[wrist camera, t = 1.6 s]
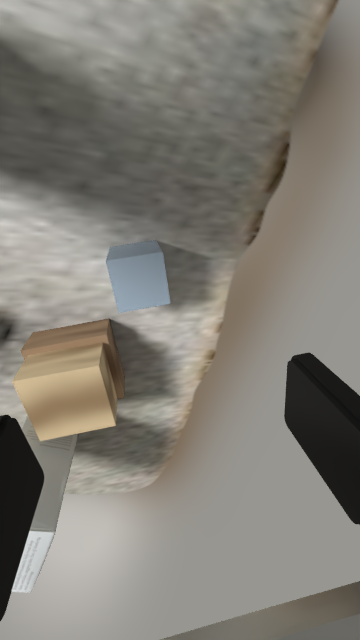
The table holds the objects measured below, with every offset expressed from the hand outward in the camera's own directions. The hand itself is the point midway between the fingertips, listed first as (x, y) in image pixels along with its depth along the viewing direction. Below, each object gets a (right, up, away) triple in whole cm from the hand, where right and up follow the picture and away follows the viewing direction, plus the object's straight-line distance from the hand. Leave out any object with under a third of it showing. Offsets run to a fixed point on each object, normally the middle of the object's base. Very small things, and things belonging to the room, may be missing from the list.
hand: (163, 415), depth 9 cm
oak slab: (-10, -3, +18) cm, 21 cm away
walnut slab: (-11, -1, +22) cm, 24 cm away
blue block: (-4, +9, +18) cm, 21 cm away
